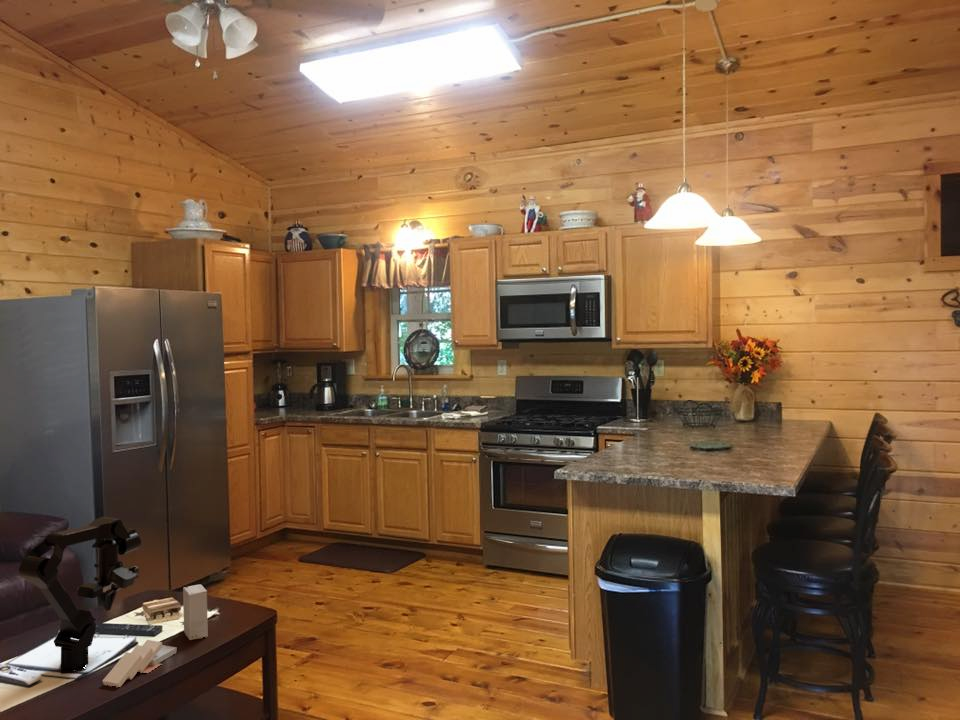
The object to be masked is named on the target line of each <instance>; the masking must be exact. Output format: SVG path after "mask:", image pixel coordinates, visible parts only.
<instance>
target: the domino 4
mask: <svg viewBox="0 0 960 720" xmlns="http://www.w3.org/2000/svg"><path fill="white" fill-rule="evenodd" d="M173 654H174V655H176V654H177V647H176V646H171V645H165V644H163V647H162V648H161V650H160V651H159V652H158V653H157V654H156V656H155V657H154V658H153V659H152V661H151V662H150V663H149V664H148V665H153V666H154V665H156V664H158V663H160V664H161V662H163V661H165V660H166V659H168V658H170V657H171V656H173Z"/></svg>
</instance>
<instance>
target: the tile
mask: <svg viewBox="0 0 960 720" xmlns="http://www.w3.org/2000/svg"><path fill="white" fill-rule="evenodd" d="M160 665H162V666H163V663H161V662H160V663H158V664H156V665H154V666H153V665H147V667H146V668H145V669H144V670H143V672H142V673H149V672H151V671H152V670H154V669H155V668H157V667H158V666H160ZM160 667H161V666H160ZM157 669H158V668H157ZM154 671H155V670H154ZM142 673H141V674H142ZM151 673H152V672H151Z"/></svg>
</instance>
